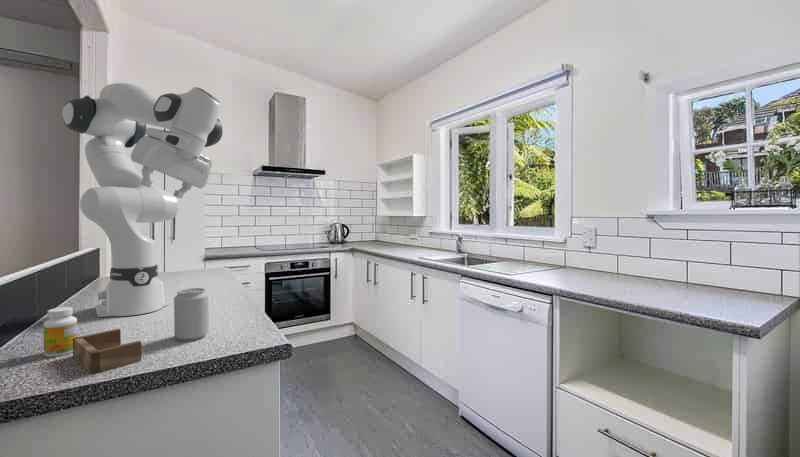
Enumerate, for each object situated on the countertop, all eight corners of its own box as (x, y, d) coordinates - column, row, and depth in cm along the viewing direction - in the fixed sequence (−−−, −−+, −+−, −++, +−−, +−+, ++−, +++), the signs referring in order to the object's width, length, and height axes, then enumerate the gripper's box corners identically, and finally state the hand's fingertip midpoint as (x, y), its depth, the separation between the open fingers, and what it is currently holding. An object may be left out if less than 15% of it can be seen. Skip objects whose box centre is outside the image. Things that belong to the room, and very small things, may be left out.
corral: (73, 356, 75) (72, 338, 75) (118, 345, 82) (118, 328, 82) (92, 374, 67) (91, 353, 67) (141, 360, 74) (141, 341, 74)
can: (193, 343, 84) (192, 293, 84) (166, 340, 85) (166, 292, 85) (215, 333, 91) (215, 287, 91) (190, 330, 93) (190, 286, 92)
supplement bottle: (36, 356, 75) (35, 311, 75) (64, 347, 81) (63, 305, 80) (58, 358, 75) (57, 313, 74) (84, 348, 80) (83, 306, 79)
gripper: (206, 158, 106) (186, 200, 104) (140, 124, 87) (115, 175, 85) (221, 163, 104) (201, 206, 102) (157, 130, 84) (131, 182, 83)
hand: (161, 191), depth 93 cm, fingers open, 8 cm apart
